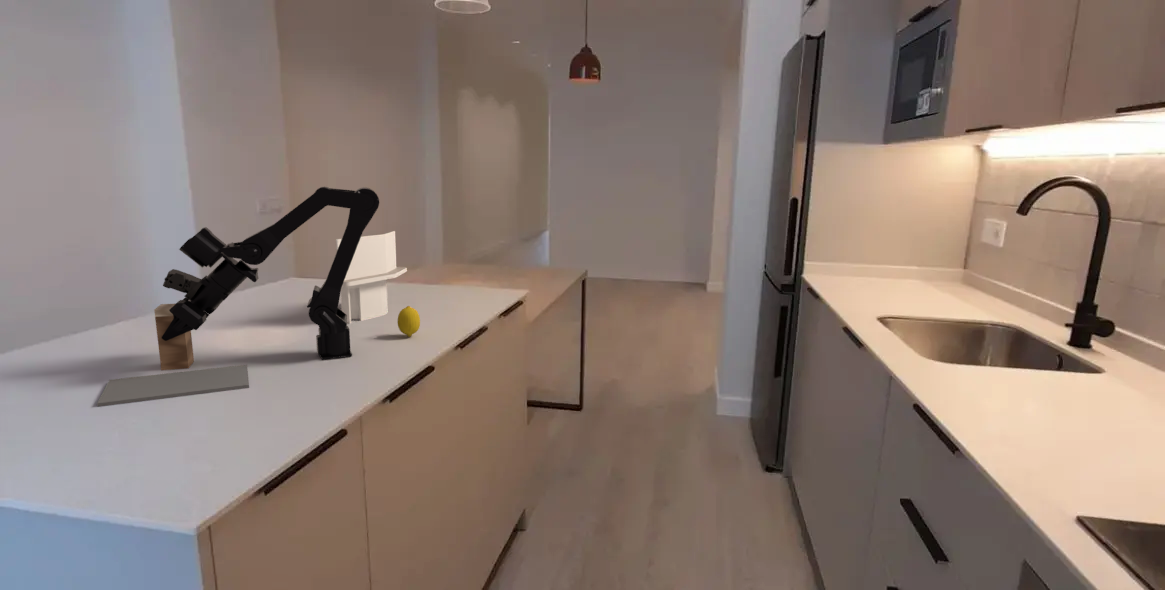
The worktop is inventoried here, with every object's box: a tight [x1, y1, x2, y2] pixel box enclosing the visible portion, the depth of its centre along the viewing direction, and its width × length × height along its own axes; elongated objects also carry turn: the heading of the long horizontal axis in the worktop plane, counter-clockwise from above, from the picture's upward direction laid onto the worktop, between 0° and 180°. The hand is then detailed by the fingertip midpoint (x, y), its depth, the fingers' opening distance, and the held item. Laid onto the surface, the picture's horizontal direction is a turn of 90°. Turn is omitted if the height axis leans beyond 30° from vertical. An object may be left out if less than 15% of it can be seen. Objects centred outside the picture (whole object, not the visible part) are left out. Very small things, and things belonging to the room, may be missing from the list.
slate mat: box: [96, 364, 250, 407], centre depth 127 cm, size 24×14×1 cm, turn 118°
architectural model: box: [335, 230, 408, 325], centre depth 185 cm, size 28×21×23 cm
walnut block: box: [153, 303, 195, 371], centre depth 137 cm, size 5×5×13 cm
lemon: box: [397, 305, 421, 338], centre depth 164 cm, size 6×6×8 cm
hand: (167, 335), depth 136 cm, fingers closed on walnut block, 5 cm apart
